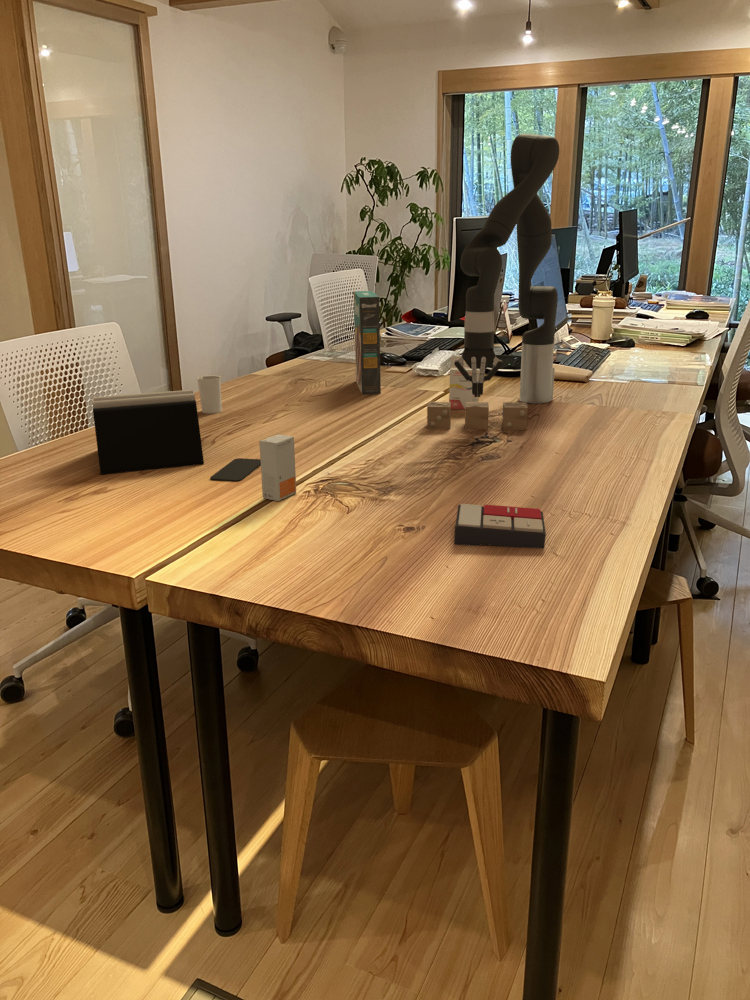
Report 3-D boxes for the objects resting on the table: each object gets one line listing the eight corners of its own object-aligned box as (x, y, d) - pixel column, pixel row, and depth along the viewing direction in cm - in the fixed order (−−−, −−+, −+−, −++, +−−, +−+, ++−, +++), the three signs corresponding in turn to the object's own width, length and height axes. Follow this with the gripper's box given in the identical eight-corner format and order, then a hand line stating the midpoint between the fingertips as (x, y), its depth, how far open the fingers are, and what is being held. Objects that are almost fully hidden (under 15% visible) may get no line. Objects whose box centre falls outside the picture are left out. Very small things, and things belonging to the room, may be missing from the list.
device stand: (204, 465, 179) (197, 401, 174) (100, 476, 173) (91, 409, 168) (195, 441, 199) (189, 383, 194) (102, 450, 193) (94, 390, 188)
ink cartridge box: (448, 409, 226) (449, 358, 221) (449, 405, 230) (449, 355, 226) (478, 409, 225) (480, 358, 220) (478, 405, 230) (479, 355, 225)
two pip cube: (502, 424, 209) (503, 401, 207) (525, 424, 208) (526, 401, 206) (503, 430, 203) (504, 406, 201) (526, 430, 202) (527, 407, 200)
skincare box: (279, 502, 154) (275, 443, 150) (262, 498, 156) (258, 440, 152) (297, 493, 159) (294, 436, 155) (281, 490, 161) (277, 433, 157)
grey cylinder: (220, 413, 226) (218, 379, 223) (198, 414, 226) (194, 379, 223) (225, 408, 233) (222, 375, 229) (203, 408, 233) (200, 375, 229)
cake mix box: (355, 381, 268) (353, 291, 258) (373, 380, 269) (371, 290, 259) (361, 394, 248) (359, 297, 238) (380, 393, 249) (379, 296, 238)
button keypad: (546, 529, 129) (455, 522, 131) (543, 553, 130) (453, 545, 132) (543, 506, 139) (458, 500, 141) (540, 529, 140) (456, 522, 142)
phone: (208, 478, 168) (235, 457, 181) (208, 482, 168) (235, 461, 182) (240, 480, 166) (265, 459, 180) (240, 484, 166) (265, 463, 180)
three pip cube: (428, 423, 211) (428, 401, 209) (450, 423, 210) (450, 401, 208) (427, 429, 205) (427, 406, 203) (450, 429, 205) (450, 406, 203)
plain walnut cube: (465, 423, 210) (465, 402, 208) (487, 424, 209) (488, 402, 207) (464, 429, 204) (465, 407, 202) (488, 429, 204) (488, 407, 202)
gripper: (452, 331, 195) (451, 399, 201) (506, 331, 194) (503, 399, 200) (453, 327, 203) (452, 393, 208) (504, 327, 201) (502, 393, 207)
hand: (477, 396), depth 204 cm, fingers closed
